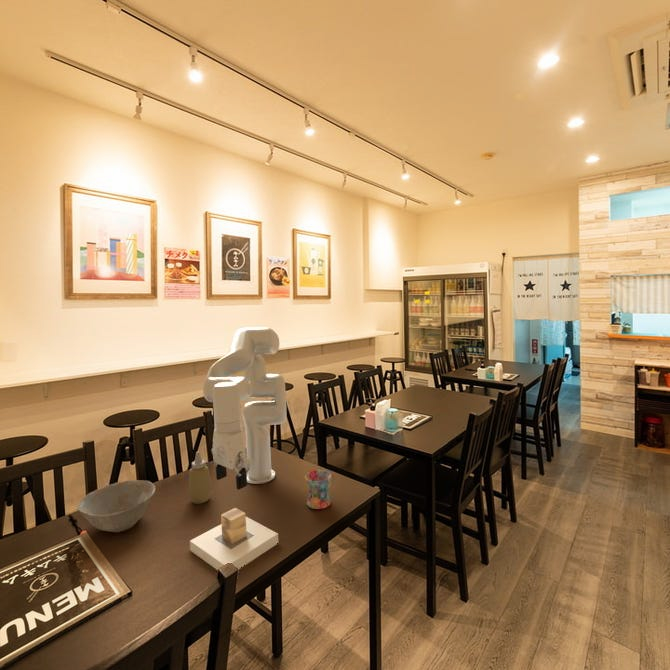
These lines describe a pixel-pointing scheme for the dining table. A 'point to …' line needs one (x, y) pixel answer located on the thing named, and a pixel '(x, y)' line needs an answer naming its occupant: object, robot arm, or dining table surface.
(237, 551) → the base board
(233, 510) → the maple block
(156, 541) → the dining table surface
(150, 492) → the ceramic bowl
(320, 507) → the mug
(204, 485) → the squeeze bottle
